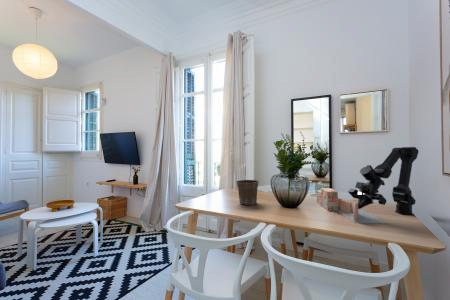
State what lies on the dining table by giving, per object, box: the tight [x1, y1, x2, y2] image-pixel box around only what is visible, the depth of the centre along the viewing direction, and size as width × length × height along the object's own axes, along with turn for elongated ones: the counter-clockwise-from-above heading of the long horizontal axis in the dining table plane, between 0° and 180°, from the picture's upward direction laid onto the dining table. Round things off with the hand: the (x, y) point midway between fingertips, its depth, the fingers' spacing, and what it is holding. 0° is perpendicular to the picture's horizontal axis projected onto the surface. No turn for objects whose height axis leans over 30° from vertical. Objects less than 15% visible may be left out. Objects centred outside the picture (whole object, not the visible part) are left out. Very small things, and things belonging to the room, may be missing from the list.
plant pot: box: [236, 179, 260, 206], centre depth 157 cm, size 16×16×16 cm
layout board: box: [337, 209, 387, 224], centre depth 124 cm, size 15×25×1 cm, turn 173°
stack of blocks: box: [316, 187, 339, 212], centre depth 145 cm, size 21×6×12 cm, turn 174°
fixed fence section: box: [338, 198, 353, 213], centre depth 133 cm, size 9×2×7 cm, turn 18°
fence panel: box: [352, 199, 359, 221], centre depth 120 cm, size 16×3×9 cm, turn 152°
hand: (358, 208), depth 116 cm, fingers closed
